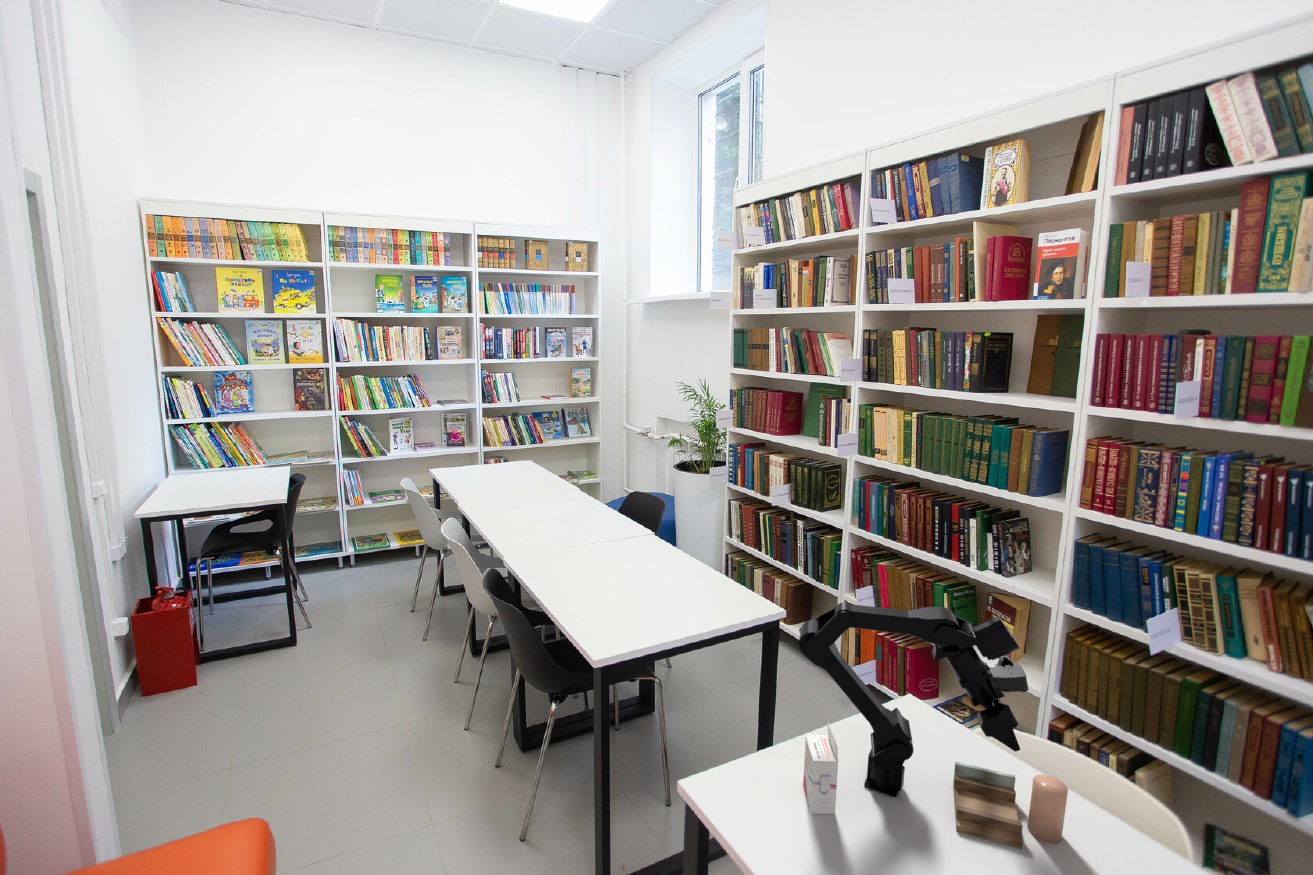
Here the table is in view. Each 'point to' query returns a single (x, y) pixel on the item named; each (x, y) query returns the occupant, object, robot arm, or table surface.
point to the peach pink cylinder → (1047, 809)
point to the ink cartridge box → (821, 772)
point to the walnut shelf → (986, 804)
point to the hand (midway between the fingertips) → (1011, 735)
